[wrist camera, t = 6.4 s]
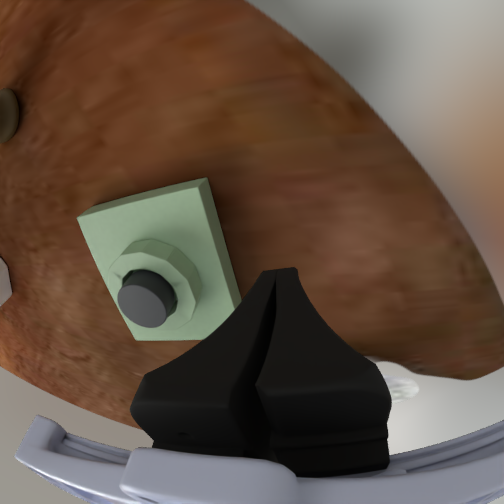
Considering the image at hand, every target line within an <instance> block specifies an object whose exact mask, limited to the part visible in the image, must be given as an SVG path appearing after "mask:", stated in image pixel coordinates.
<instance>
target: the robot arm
mask: <svg viewBox="0 0 504 504" xmlns="http://www.w3.org/2000/svg"><path fill="white" fill-rule="evenodd" d="M391 407H392V400H391V395H390V392H389V389H388V387H387V384H386V382H385V380H384V378H383V376H382V374H381V372H380V371H379V369H378V367H377V366H376V364H375V363H373V362H371V361H370V360H368V359H367V358H365V357H364V356H362V355H361V354H360V353H358V352H357V351H356V350H354V349H353V348H352V347H350V346H349V345H348V344H347V343H346V342H345V341H344V340H342V339H341V338H340V337H339V336H338V335H337V334H336V333H335V332H334V331H333V330H332V329H331V328H330V327H329V326H328V325H327V323H326V322H325V321H324V320H323V319H322V317H321V316H320V315H319V314H318V312H317V311H316V309H315V308H314V306H313V305H312V303H311V302H310V300H309V299H308V297H307V295H306V293H305V291H304V289H303V287H302V285H301V283H300V280H299V276H298V270H297V269H296V268H295V267H291V268H283V269H275V270H267V271H263V272H262V273H261V275H260V276H259V277H258V279H257V280H256V282H255V283H254V285H253V286H252V288H251V289H250V291H249V292H248V293H247V295H246V296H245V297H244V299H243V300H242V301H241V303H240V304H239V305H238V306H237V307H236V309H235V310H234V311H233V312H232V313H231V315H230V316H229V317H228V318H227V319H226V320H225V321H224V322H223V323H222V324H221V325H220V326H219V327H218V328H217V329H216V330H214V331H213V332H212V333H211V334H210V335H209V336H207V337H206V338H205V339H203V340H202V341H201V342H200V343H198V344H197V345H196V346H194V347H193V348H192V349H190V350H189V351H187V352H186V353H184V354H183V355H181V356H179V357H178V358H176V359H174V360H173V361H171V362H169V363H167V364H165V365H163V366H161V367H159V368H157V369H155V370H153V371H151V372H149V373H147V374H145V375H144V377H143V379H142V381H141V383H140V385H139V388H138V390H137V392H136V394H135V397H134V399H133V401H132V404H131V407H130V412H131V415H132V417H133V419H134V420H135V421H136V423H137V424H138V425H139V426H140V427H141V428H142V429H143V430H144V431H145V432H146V433H147V434H148V435H149V436H150V437H151V438H152V439H153V440H154V442H153V445H152V448H147V447H139V448H136V449H135V450H133V451H129V450H125V449H121V448H117V447H113V446H109V445H105V444H102V443H98V442H95V441H91V440H88V439H85V438H82V437H79V436H76V435H73V434H70V433H67V432H66V431H65V430H64V429H63V428H62V427H61V426H60V425H59V424H58V423H56V422H55V421H53V420H51V419H48V418H46V417H43V416H40V415H36V417H35V418H34V420H33V422H32V424H31V426H30V427H29V429H28V431H27V433H26V435H25V437H24V438H23V440H22V442H21V444H20V446H19V448H18V450H17V452H16V454H15V458H16V459H17V460H19V461H20V462H22V463H23V464H24V465H25V466H27V467H28V468H30V469H31V470H32V471H34V472H35V473H36V474H38V475H39V476H41V477H42V478H44V479H45V480H47V481H48V482H50V483H51V484H53V485H55V486H57V487H58V488H61V489H62V490H64V491H66V492H68V493H70V494H72V495H74V496H77V497H78V498H80V499H83V500H85V501H87V502H89V503H91V504H487V503H489V502H491V501H493V500H495V499H497V498H499V497H501V496H503V495H504V420H502V421H500V422H498V423H495V424H493V425H491V426H488V427H486V428H483V429H480V430H478V431H475V432H472V433H470V434H467V435H464V436H461V437H458V438H455V439H452V440H449V441H445V442H442V443H439V444H435V445H432V446H428V447H424V448H420V449H416V450H412V451H408V452H403V453H399V454H394V455H389V449H388V441H387V438H388V429H387V421H388V418H389V414H390V410H391Z"/></svg>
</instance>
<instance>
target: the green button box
mask: <svg viewBox="0 0 504 504" xmlns="http://www.w3.org/2000/svg"><path fill="white" fill-rule="evenodd" d="M77 220H78V222H79V225H80V227H81V230H82V232H83V235H84V237H85V239H86V242H87V244H88V246H89V249H90V251H91V253H92V256H93V258H94V260H95V262H96V264H97V267H98V269H99V271H100V273H101V275H102V277H103V279H104V281H105V283H106V285H107V287H108V289H109V291H110V293H111V295H112V297H113V299H114V301H115V303H116V305H117V307H118V309H119V311H120V313H121V314H122V316H123V318H124V320H125V322H126V324H127V325H128V327H129V329H130V331H131V332H132V334H133V336H134V338H135V339H136V340H201V339H205V338H206V337H207V336H209V335H210V334H211V333H212V332H213V331H214V330H216V329H217V328H218V327H219V326H220V325H221V324H222V323H223V322H224V321H225V320H226V319H227V318H228V317H229V316H230V315H231V313H232V312H233V311H234V310H235V309H236V307H237V306H238V305H239V304H240V303H241V301H242V300H241V296H240V293H239V289H238V286H237V282H236V279H235V275H234V272H233V268H232V265H231V261H230V258H229V254H228V251H227V247H226V244H225V240H224V237H223V233H222V229H221V226H220V222H219V219H218V215H217V211H216V208H215V204H214V200H213V197H212V193H211V189H210V186H209V182H208V178H202V179H197V180H193V181H188V182H184V183H179V184H175V185H171V186H167V187H163V188H159V189H155V190H151V191H147V192H143V193H139V194H135V195H131V196H128V197H124V198H120V199H117V200H113V201H110V202H106V203H103V204H99V205H96V206H93V207H91V208H89V209H88V210H86V211H85V212H84V213H82V214H81V215H79V216H78V217H77ZM140 270H148V271H152V272H155V273H157V274H159V275H161V276H162V277H163V278H165V279H166V280H167V281H168V282H169V284H170V285H171V287H172V289H173V291H174V294H175V302H174V305H173V307H172V309H171V311H170V313H169V315H168V317H167V319H166V321H165V322H164V323H163V324H162V325H161V326H159V327H156V328H146V327H142V326H139V325H137V324H135V323H133V322H132V321H130V320H129V319H128V318H127V317H126V316H125V315H124V314H123V312H122V311H121V309H120V307H119V305H118V301H117V296H118V292H119V290H120V289H121V287H122V286H123V285H124V283H125V282H126V281H127V279H128V278H129V277H130V276H131V274H133V273H134V272H136V271H140Z"/></svg>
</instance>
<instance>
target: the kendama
mask: <svg viewBox="0 0 504 504" xmlns="http://www.w3.org/2000/svg"><path fill="white" fill-rule="evenodd" d="M18 119H19V105H18V102H17V98H16V95H15V94H14V93H13V91H12V90H11V89H6V88H3V89H1V90H0V143H3V142H6V141H8V140H9V139H10V138H11V137H12V136H13V135H14V133H15V131H16V129H17V126H18Z"/></svg>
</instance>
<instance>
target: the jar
mask: <svg viewBox="0 0 504 504" xmlns="http://www.w3.org/2000/svg"><path fill="white" fill-rule="evenodd" d="M11 295H12V289H11V284H10V278H9V272H8V266H7V265H6V264H5V262H4V261H3V260H2V258H1V257H0V306H1V305H2V304H3V303H4V302H5V301H6V300H7V299H8V298H9V297H10V296H11Z"/></svg>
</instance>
